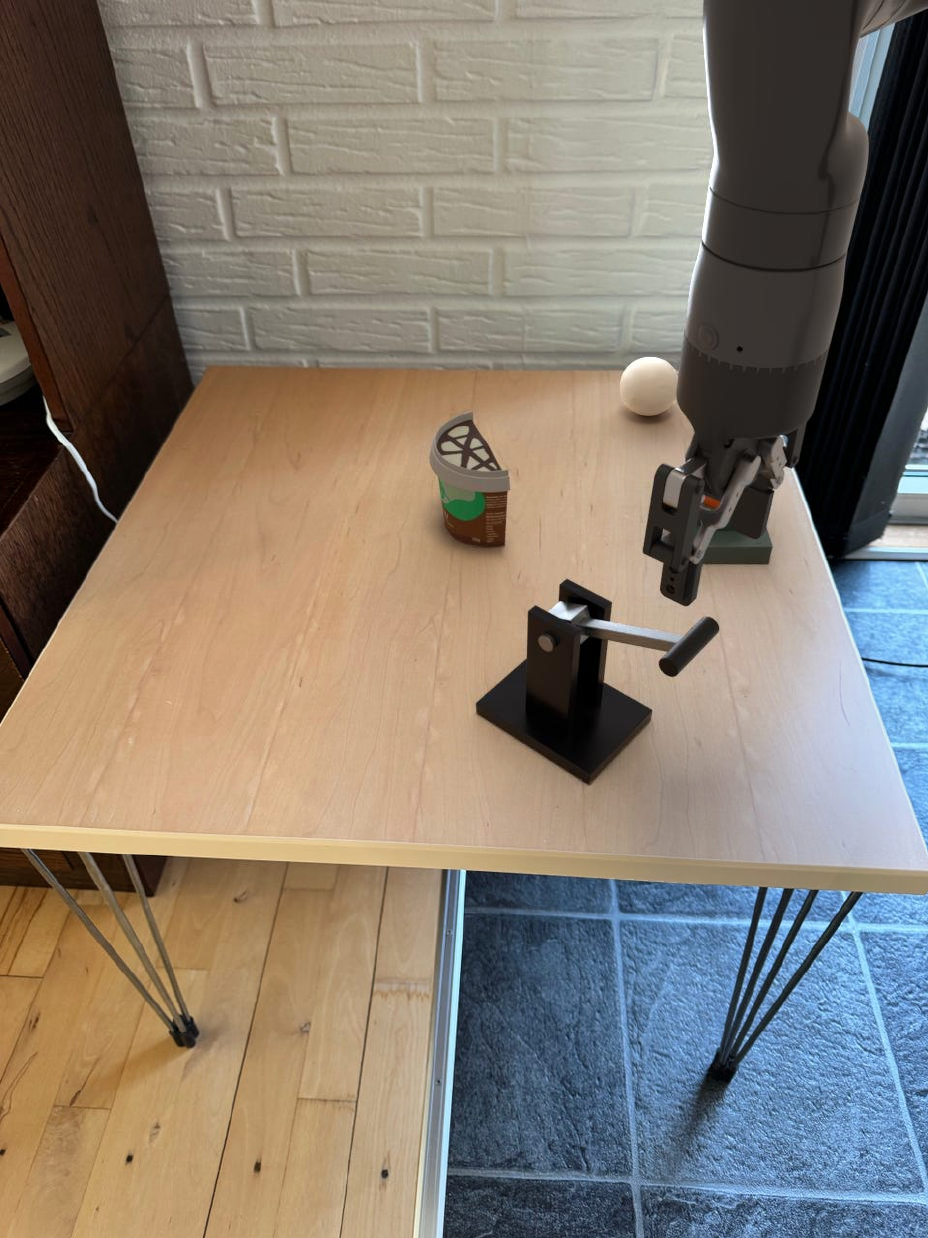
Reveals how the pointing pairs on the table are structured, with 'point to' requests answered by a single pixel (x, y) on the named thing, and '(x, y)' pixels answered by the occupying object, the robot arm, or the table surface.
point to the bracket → (566, 693)
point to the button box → (735, 546)
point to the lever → (642, 635)
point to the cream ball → (649, 386)
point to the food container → (470, 483)
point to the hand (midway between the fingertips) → (713, 564)
